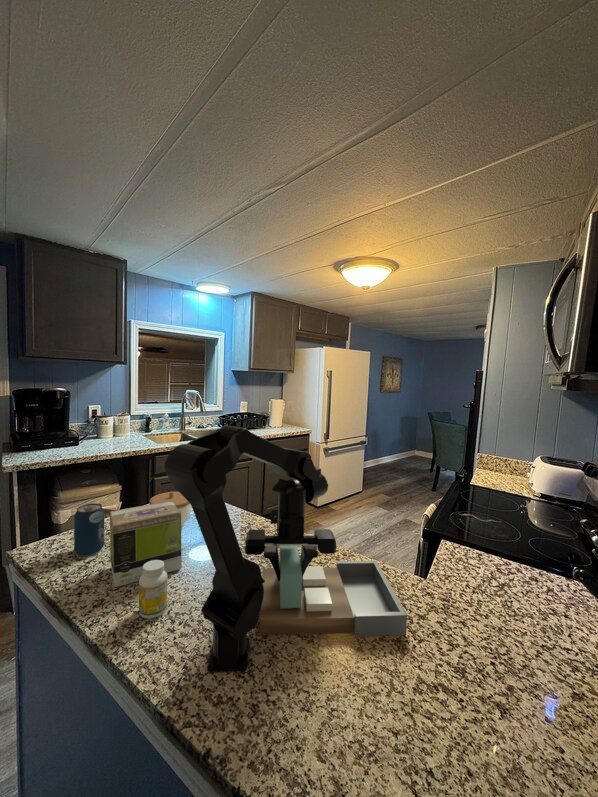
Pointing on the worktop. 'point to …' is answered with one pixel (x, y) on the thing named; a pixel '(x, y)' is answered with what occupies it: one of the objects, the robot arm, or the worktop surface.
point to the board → (299, 618)
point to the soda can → (89, 529)
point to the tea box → (144, 540)
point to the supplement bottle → (153, 590)
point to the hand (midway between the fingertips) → (289, 579)
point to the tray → (372, 600)
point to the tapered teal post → (290, 577)
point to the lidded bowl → (177, 500)
